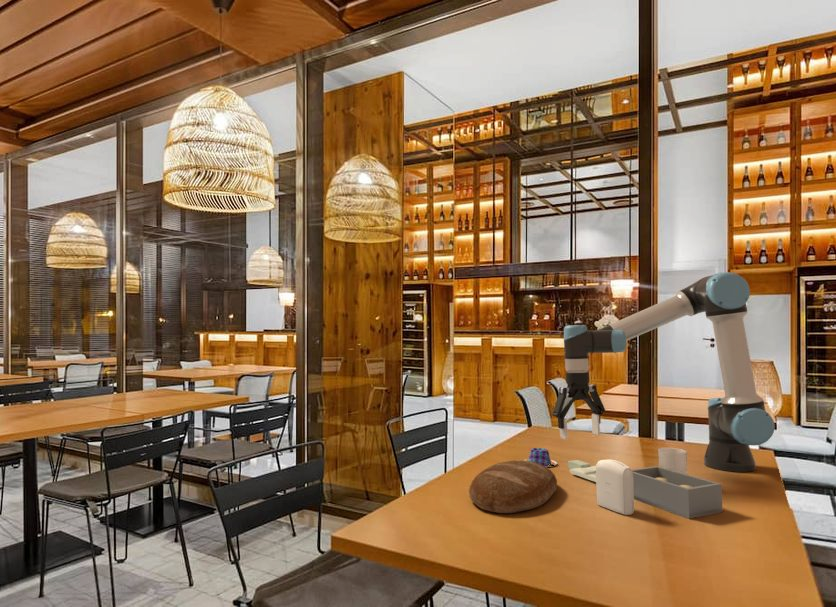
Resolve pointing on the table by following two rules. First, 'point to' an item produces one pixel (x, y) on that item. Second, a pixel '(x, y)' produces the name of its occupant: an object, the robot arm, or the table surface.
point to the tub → (677, 492)
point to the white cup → (673, 459)
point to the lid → (582, 469)
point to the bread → (512, 486)
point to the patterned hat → (540, 456)
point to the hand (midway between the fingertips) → (580, 436)
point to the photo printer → (615, 486)
